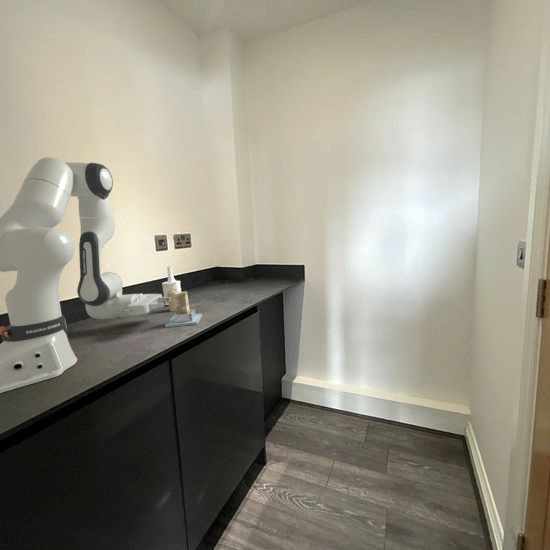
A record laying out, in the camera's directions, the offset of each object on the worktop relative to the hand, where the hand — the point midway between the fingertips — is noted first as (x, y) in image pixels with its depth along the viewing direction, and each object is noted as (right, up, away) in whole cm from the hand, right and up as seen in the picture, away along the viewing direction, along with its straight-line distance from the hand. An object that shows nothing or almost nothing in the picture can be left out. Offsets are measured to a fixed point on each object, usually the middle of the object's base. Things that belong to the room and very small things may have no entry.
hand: (167, 302), depth 116 cm
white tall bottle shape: (-10, -4, +37) cm, 38 cm away
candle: (-4, -6, +23) cm, 24 cm away
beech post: (+6, -7, +2) cm, 10 cm away
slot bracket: (+7, -7, +2) cm, 10 cm away
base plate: (+7, -8, +2) cm, 11 cm away
